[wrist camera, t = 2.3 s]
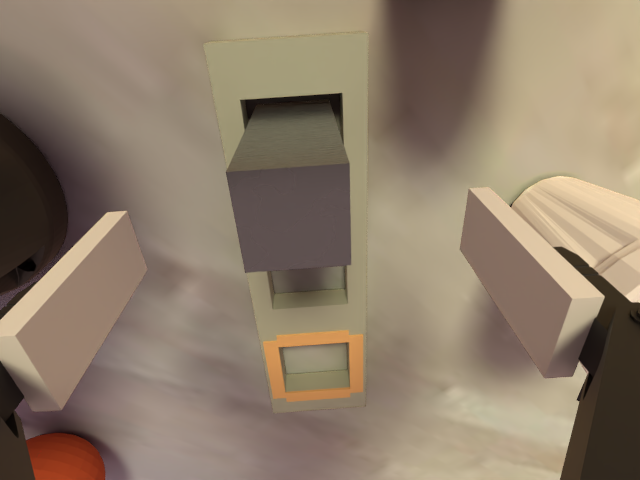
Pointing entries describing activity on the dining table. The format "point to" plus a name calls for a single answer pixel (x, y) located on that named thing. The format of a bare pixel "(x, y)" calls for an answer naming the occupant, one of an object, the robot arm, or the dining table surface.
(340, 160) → the grey rectangular block
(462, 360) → the dining table surface
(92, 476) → the tomato
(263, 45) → the rail
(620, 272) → the cup
